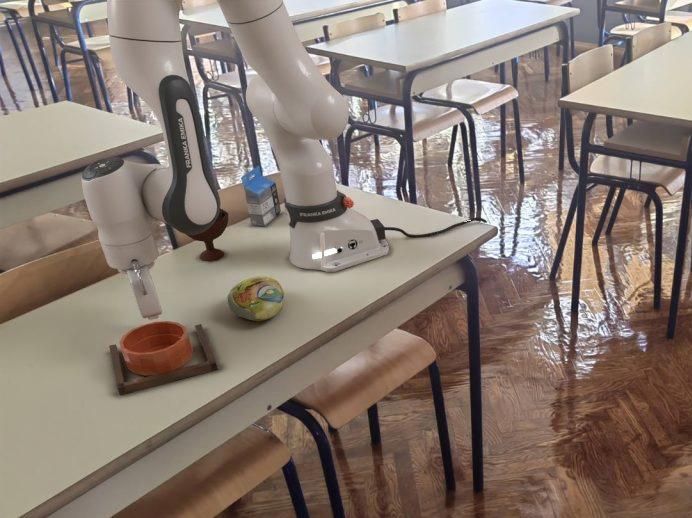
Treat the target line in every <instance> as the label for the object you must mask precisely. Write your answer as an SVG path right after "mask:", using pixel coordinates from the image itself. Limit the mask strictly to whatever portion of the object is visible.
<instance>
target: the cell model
mask: <svg viewBox="0 0 692 518" xmlns="http://www.w3.org/2000/svg"><path fill="white" fill-rule="evenodd" d="M227 304H228V307H229V309H230V310H231V312H232V313H233V314H234V315H235V316H237V317H240V318H242V319H245V320H250V321H253V322H256V321H257V322H261V321H266V320H269V319H271V318H273V317H274V316H276V315H278V314H279V313H280V312H281V311H282V309H283V307H284V305H285V291H284V289H283V287H282V285H281V283H280V282H279V281H278V280H276V279H275V278H273V277H270V276H264V275H260V276H253V277H250V278H247V279H245V280H244V279H243V280H242V281H240V282H238V283H237V284H235V285H234V286H233V287H232V288H231V289H230V291H229V293H228V295H227Z"/></svg>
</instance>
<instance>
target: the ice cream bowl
mask: <svg viewBox="0 0 692 518" xmlns="http://www.w3.org/2000/svg"><path fill="white" fill-rule="evenodd" d="M229 220H230V219H229V212H227V211H226V210H224V209H223V208H221V207H220V212H219V215H218V217H217V219H216V221H215V222H214V224H213V225H212V226H211V227H210V228H209V229H207V230H206V231H204V232H202V233H200V234H196V235H187V234H185V235H186V236H187V237H188V238H190V239H192V240H193V241H197V242H203V243H204V245H205V250H204V251H202V252H201V253H200V255H199V259H200V260H201V261H202V262H208V263H209V262H215V261H219V260H221V259H223V258H224V257H225V255H226V253H225V252H224V251H223V250H222V249H220V248H215V245H214V240H216V239H218V238H220V237H221V236H222V235H223V233H225V231H226V230H227V229H226V228H227V227H228V224H229Z"/></svg>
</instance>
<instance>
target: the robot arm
mask: <svg viewBox="0 0 692 518" xmlns="http://www.w3.org/2000/svg"><path fill="white" fill-rule="evenodd" d="M183 2H184V0H106V16H107V29H108V37H109V38H108V39H109V47H110V53H111V57H112V61H113V64H114V68H115V70H116V73H117V75H118V77H119V79H120V81H122V82H123V83H124V85H125V86H126V87H127V88H128V89H130V90H131V91H132V92H133V93H134V94H135V95H136V96H138V97H139V98H140V99H141V101H143V102H144V103H145V104H146V105H147V106H148V108H149V109H151V111H152V113H153V114H154V115H155V117H156V119H157V120H158V122H159V125H160V127H161V131H162V135H163V141H164V146H165V151H166V157H167V162H168V166H166V165H163V164H160V163H159V164H158V163H137V162H133V161H129V160H126V159H124V158H122V157H119V156H110V157H105V158H104V157H103V158H100V159H97V160H95V161H93V162H91V163H90V164H88V165H87V166H86V168H84V170H83V171H82V174H81V188H82V192H83V197H84V201H85V204H86V207H87V210H88V213H89V217H90V218H91V220H92V222H93V223H94V225H95V227H96V228H97V233H98V237H97V238H98V241H99V244H100V247H101V249H102V252H103V255H104V258H105V261H106V263H107V266H109V268H111V269H115V270H117V272H118V273H120V274H122V275H126V276H127V279H128V282H129V285H130V289H131V290H132V294H133V297H134V300H135V303H136V306H137V308H138V311H139V314H140V316H141V318H143V319H148V320H150V321H152V320H156V319H158V318H159V316H160V315H162V314H163V308H162V305H161V302H160V299H159V296H158V292H157V289H156V286H155V283H154V281H153V277H152V275H151V272H150V270H152V268H153V267H154V266H155V261H156V260H157V259H158V258H159V256H160V252H159V249H158V246H157V242H156V239H155V235H154V233H153V230H152V229H153V228H152V224H153V223H155V222H161V223H163V224H164V223H165V224H166V225H168V226H169V227H171V228H173V229H174V230H176V231H177V232H179V233H181V234H183V235H186V234H187V235H196V234H200V233H202V232H204V231H206V230H207V229H209V228H210V227H211V226H212V225H213V224H214V222H215V221H216V219H217V217H218V215H219V212H220V208H221V197H220V193H219V191H218V189H217V187H216V185H215V183H214V181H213V179H212V175H211V172H210V169H209V163H208V159H207V153H206V147H205V141H204V134H203V128H202V124H201V123H202V122H201V119H200V112H199V109H198V104H197V100H196V96H195V93H194V91H193V88H192V86H191V83H190V80H189V77H188V71H187V67H186V63H185V57H184V50H183V43H182V42H183V41H182V30H181V24H180V11H181V7H182V4H183ZM216 2H217V3H218V5H219V7H220V11H221V12H222V14H223V17H224V20H225V21H226V23H227V26H228V27H229V29H230V32H231V34H232V36H233V38H234V40H235V42H236V44H237V47H238V49H239V51H240V53H241V55H242V58H243V60H244V61H245V62H246V63H247V65H248V66H249V67H250V68H251V69H252V70H254V72H256V73H257V75H255V76H253V78H251V79H250V81H249V83H248V84H247V87H246V91H245V101H246V106H247V108H248V110H249V112H250V113H251V114H252V115H253V117H254V118H255V119H256V120H257V121H258V123H259V125H260V126H261V128H262V130H263V132H264V134H265V136H266V138H267V141H268V143H269V145H270V147H271V149H272V151H273V154H274V156H275V159H276V162H277V165H278V168H279V173H280V177H281V182H282V187H283V192H284V193H283V194H284V197H283V203H284V213H285V217H286V222H287V224H288V226H289V237H290V241H289V242H290V243H289V245H290V247H289V256H288V260H289V262H290V263H291V264H292V265H293V266H294V267H298V268H301V269H304V270H318V271H322V272H325V273H335V272H338V271H341V270H344V269H347V268H350V267H354V266H356V265H359V264H363V263H365V262H369V261H371V260H375V259H378V258H381V257H384V256H386V255H388V254H389V252H390V247H389V243H388V241H387V240H386V239H387V237H386V231H395V232H399V233H401V234H402V235H404V236H405V237H407V238H413V239H416V238H417V239H418V238H427V237H428V238H429V237H432V236H437V235H441V234H443V233H446V232H449V231H452V230H453V229H454V228H455V229H456V228H457V227H460V226H464V225H467V224H469V223H471V222H475V221H480V222H482V223H484V224H486V223H488V220H486V219H485V218H483V217H478V216H477V217H471V218H469V219H466V220H463V221H461V222H457V223H454V224H451V225H450V226H447V227H446V228H443V229H441V230H436V231H432V232H428V233H422V234H413V233H408V232H406V231H405V230H404V229H402V228H399V227H393V226H385V225H384V224H383V223H382V222H381V221H380V220H379V219H378V218H376V219H375V218H374V219H370V218H368V217H367V216H365V215H364V214H362V213H360V212H359V211H356V210H354V209H353V208H354V205H355V202H354V200H352V198H351V197H349V196H347V195H346V194H345V193H344V192H341V191H340V190H339V189H337V184H336V177H335V169H334V162H333V159H332V156H330V154H329V152H328V151H327V150H326V149H325V148H324V146H323V145H322V143H321V142H320V141H326V140H327V141H328V140H329V141H330V140H335V139H337V138H339V137H340V136H341V135H343V133H344V132H345V130H346V128H347V126H348V123H349V118H350V110H349V105H348V102H347V100H346V98H345V97H344V96H343V94H341V93H340V92H339V91H338V90H337V89H336V88H334V87H333V85H332V84H331V83H330V82H329V80H327V79H326V77H325V76H324V74H323V73H322V72H321V71H320V69H319V67H318V66H317V65H316V63H315V62H314V60H313V59H312V58H311V56H310V54H309V53H308V51H307V50H306V48H305V47H304V45H303V43H302V41H301V39H300V37H299V35H298V33H297V31H296V28H295V26H294V24H293V21H292V19H291V16H290V15H289V12H288V10H287V7H286V4H285V2H284V0H216ZM467 220H471V221H467ZM464 221H467V222H464ZM187 235H186V236H187Z"/></svg>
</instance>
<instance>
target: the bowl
mask: <svg viewBox="0 0 692 518" xmlns="http://www.w3.org/2000/svg"><path fill="white" fill-rule="evenodd" d="M119 348H120V351H121V354H122V356H123V359H124V362H125V364H126V367H127V370H129V371H131V372H132V373H133V374H137V375H139V376H143V377H148V376H152V375H156V374H160V373H164V372H168V371H171V370H175V369H179V368H183V367H185V365H187V363H189V361H190V360H191V358H192V356H193V354H194V350H193V347H192V344H191V340H190V337H189V332H188V330H187V328H186V326H185V325H183V324H181V323H179V322H177V321H169V320H163V321H162V320H161V321H153V322H149V323H145V324H141V325H139V326H136V327H134V328H133V329H131V330H129V331H127V332H126V333H125V334H123V335H122V337H121V339H120V340H119Z"/></svg>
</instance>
